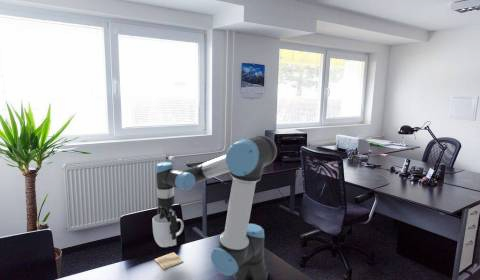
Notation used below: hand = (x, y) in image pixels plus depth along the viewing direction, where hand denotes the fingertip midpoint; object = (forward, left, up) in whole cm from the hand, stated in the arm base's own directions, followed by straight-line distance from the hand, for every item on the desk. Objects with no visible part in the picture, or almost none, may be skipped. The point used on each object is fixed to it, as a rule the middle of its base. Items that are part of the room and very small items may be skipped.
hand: (167, 240), depth 141 cm
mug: (0, 0, -2) cm, 2 cm away
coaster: (0, 0, -11) cm, 11 cm away
